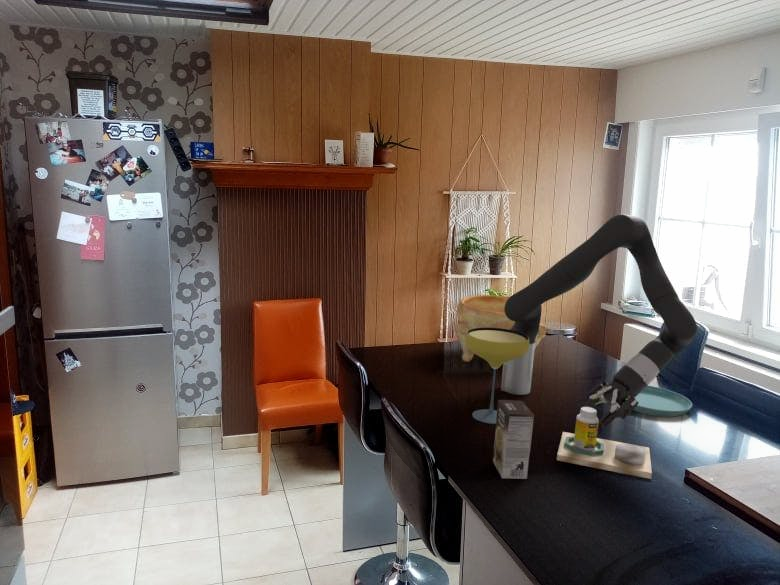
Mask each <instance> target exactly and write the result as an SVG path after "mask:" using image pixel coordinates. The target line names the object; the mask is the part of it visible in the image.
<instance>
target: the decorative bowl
mask: <svg viewBox="0 0 780 585" xmlns="http://www.w3.org/2000/svg"><path fill="white" fill-rule="evenodd" d="M509 297H510V296H505V295H496V294H495V295H493V294H483V295H481V294H480V295H471V296H466V297H464V298H462V299H461V300H459V303H458V304H457V307H456V317H457V319H458V321H459V322H458V323H456V324H454V326H453V328H454V329H456V333H457V340H458V341H459V342H460V347H461V349H462V354H461V355H462V356H461V358H462V361H463V362H466V363H469V362H471V361H472V359H473V357H474V356H475V355H476V354H475V353H473V352H472V351H471V350H470V349H469V348H468V347H467V345H466V334H467V332H468V331H469V330H471V329H474V328H502V329H509V330H510V329H511V328H512V327H513V325H514V324H515V321H512V320H510V319H509V318H507V316H506V315H505V311H504V307H505V303H506V301H507V300H508V298H509ZM546 334H547V326H546V325H545V324H543V323H541V322H540V326H539V332H538V334H537V336H536V339H535V348H534V351H535V350H536V347H537V346H538V345H539V344H540V343H541V339H544V338H545V336H546Z"/></svg>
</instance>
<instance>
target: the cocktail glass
mask: <svg viewBox="0 0 780 585" xmlns="http://www.w3.org/2000/svg"><path fill="white" fill-rule="evenodd" d="M466 345H467V347H468V348H469V349H470V350H471V351H472V352H473V353H475V354H474V355H476V356H478V357H480V358H481V359H483V360H485V361H487V363H488V364H489V366H490V368H492V369H493V373H492V385H491V386H492V387H491V395H490V403H489V409H488V408H487V409H486V408H484V409H478V410H474V411H473V412H472V418H474V420H475V421H478V422H481V423H484V424H488V425H489V424H490V425H496V418H497V409H496V410H495V409H494V395H495V384H496V375H497V374H496V372H497V370H498V369H499V368H501V366H503V364H504V363H505V362H507V361H510V360H513V359H516V358H519V357H521V356H522V355H524V354H525V353H526V352H527V351H528V349H529V337H528V336H527V335H525V334H523V333H521V332H517V331H513V330H509V329H502V328H474V329H471V330H469V331H468V332H467V334H466Z"/></svg>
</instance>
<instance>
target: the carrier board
mask: <svg viewBox="0 0 780 585" xmlns="http://www.w3.org/2000/svg"><path fill="white" fill-rule="evenodd" d="M561 434H562V435H561V439H560V441H559V442H560V443H559V446H558V451H557V453H556V454H557V455H556V461H560V462H564V463H569V464H574V465H579V466H585V467H590V468H594V469H600V470H603V471H604V470H605V471H610V472H614V473H618V474H623V475H624V474H625V475H628V476H629V475H630V476H634V477H638V478H644V479H649V480H652V476H653V475H652V474H653V471H652V463H651V462H652V461H651V453H650V447H647V446H643V445H637V444H632V443H625V442H622V441H616V440H610V439H604V438H598V437H597V440H596V447H595V449H593V450H584V449H579V448H577V447H576V446H575V445H574V435H575V433H573V432H572V433H571V432H565V431H562V433H561Z"/></svg>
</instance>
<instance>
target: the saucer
mask: <svg viewBox="0 0 780 585" xmlns="http://www.w3.org/2000/svg"><path fill="white" fill-rule="evenodd" d="M635 398H636V400H637V401H638V402H639V404H638V405H637V406H636V407H635V408H634V409H633V410H632V411H634V412H637V413H640V414H644V415H648V416H655V417H677V416H681V415H684V414H686V413H687V412H689V411H690V410H691V409H692V407H693V403H692V401H691V400H690V399H689V398H688V397H686V396H684V395H682V394H680V393H677V392H675V391H672V390H669V389H666V388H662V387H657V386H654V385H648V386H647V387H646V388H645V389H644V390H643V391H641V392H640V393H639V394H638V395H637V396H636V397H635Z"/></svg>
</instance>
